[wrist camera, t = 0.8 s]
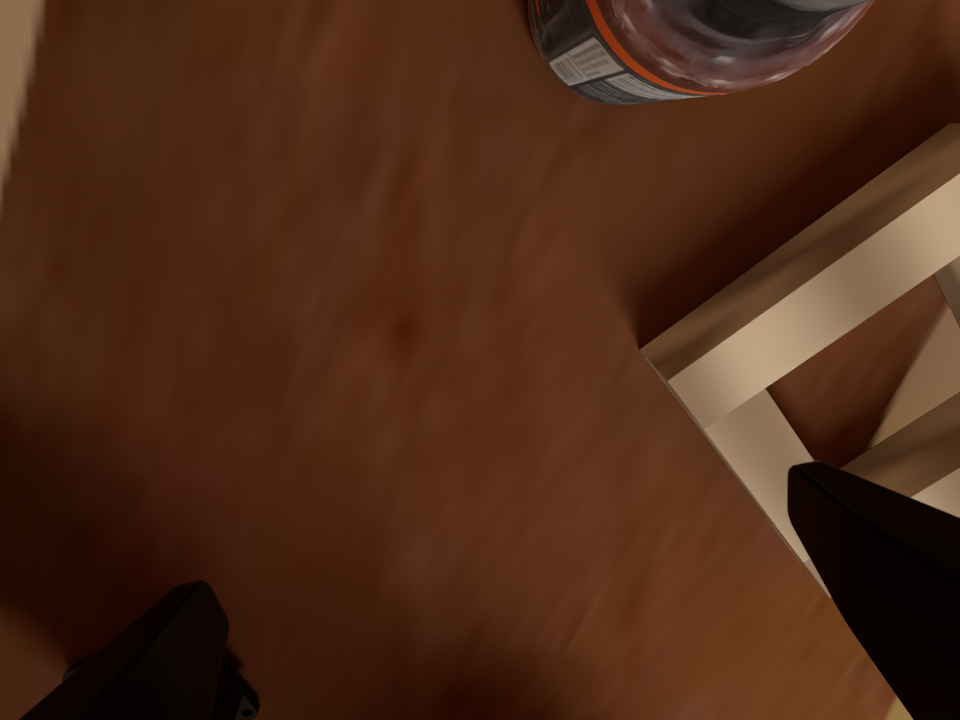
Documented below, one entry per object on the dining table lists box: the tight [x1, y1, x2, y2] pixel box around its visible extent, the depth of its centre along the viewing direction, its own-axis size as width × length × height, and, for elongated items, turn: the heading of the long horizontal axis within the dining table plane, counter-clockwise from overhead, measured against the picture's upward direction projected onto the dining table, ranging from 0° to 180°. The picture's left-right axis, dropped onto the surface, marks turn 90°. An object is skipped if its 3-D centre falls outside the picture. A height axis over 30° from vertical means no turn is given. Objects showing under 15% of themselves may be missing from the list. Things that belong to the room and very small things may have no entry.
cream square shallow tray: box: [640, 123, 960, 598], centre depth 22 cm, size 13×13×3 cm
